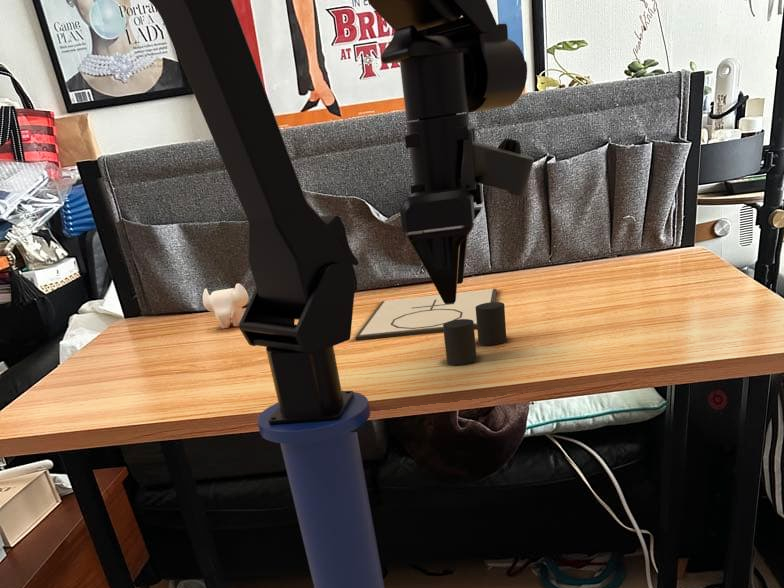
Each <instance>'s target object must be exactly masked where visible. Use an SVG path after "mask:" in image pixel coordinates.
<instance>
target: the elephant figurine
mask: <svg viewBox="0 0 784 588" xmlns="http://www.w3.org/2000/svg"><path fill="white" fill-rule="evenodd" d="M249 299H250V298H249V294H248V292H247V289H246V288H245V287H244V286H243V284H241V283H236V284H235V286H234V287H232V288H225V289H218V290H213V291H212V292H211V293H210V294H209V291H208V288H207V287H206V288H204V290H203V292H202V305H203V308H204V309H206V310H207V311H209V312H211V313H214V316H215V318H216V320H218V322H219V325H220V327H221V328H222V329H228V328H230V327H231V326H230V325H232V326H233V327H234V328H235V327H239V323H240V321H241V319H242V316H243V314H244V312H243V307H245V306H246V305H248V303H249V301H250V300H249Z"/></svg>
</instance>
